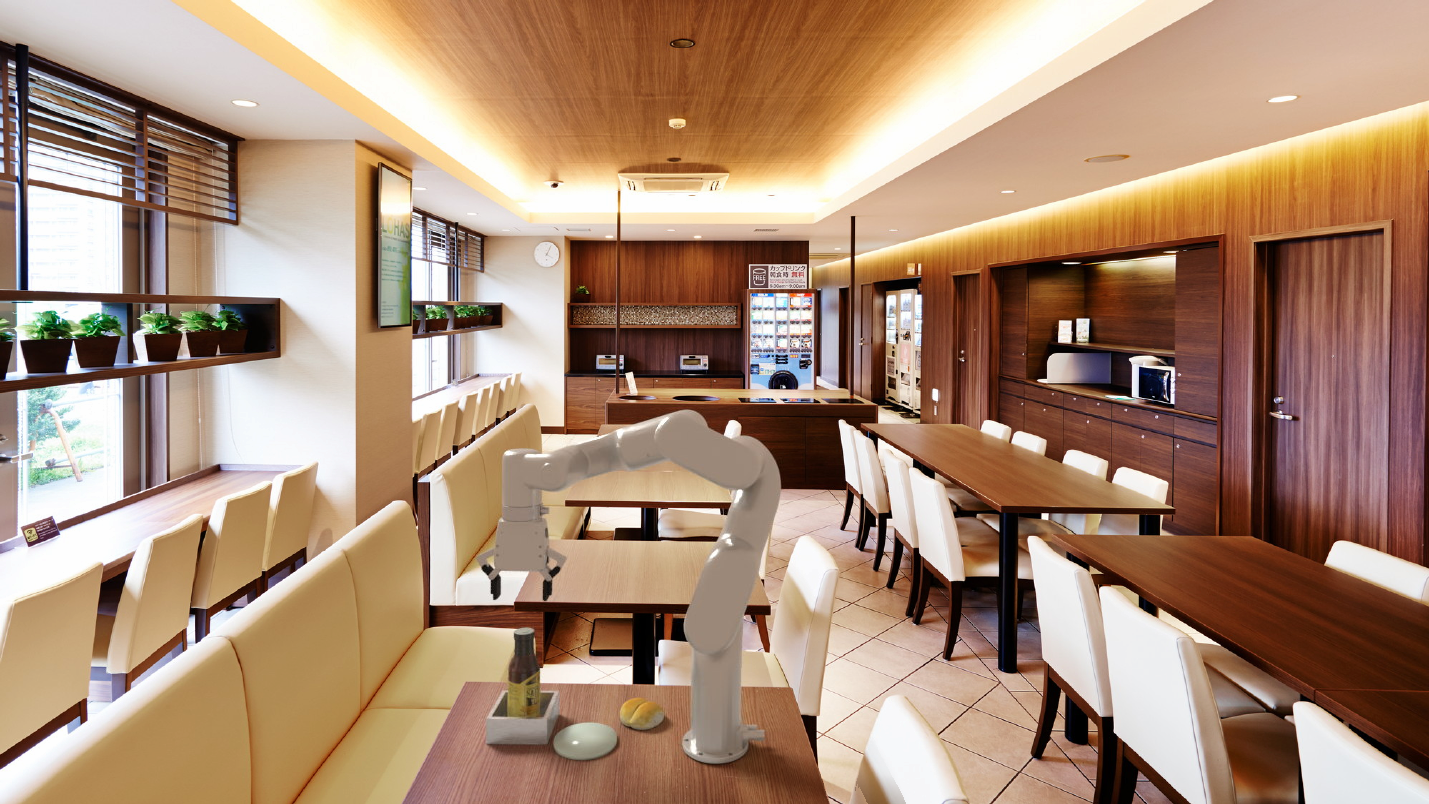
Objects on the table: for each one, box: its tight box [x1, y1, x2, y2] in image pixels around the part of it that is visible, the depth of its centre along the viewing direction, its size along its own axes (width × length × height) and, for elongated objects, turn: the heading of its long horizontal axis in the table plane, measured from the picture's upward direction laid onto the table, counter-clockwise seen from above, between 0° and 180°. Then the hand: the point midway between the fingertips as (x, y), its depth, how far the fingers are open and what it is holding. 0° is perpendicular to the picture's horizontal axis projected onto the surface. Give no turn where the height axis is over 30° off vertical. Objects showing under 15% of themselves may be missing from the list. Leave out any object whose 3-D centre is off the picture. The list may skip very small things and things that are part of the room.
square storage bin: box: [485, 689, 560, 745], centre depth 147 cm, size 12×12×5 cm
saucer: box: [553, 722, 618, 761], centre depth 142 cm, size 12×12×1 cm
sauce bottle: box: [507, 627, 541, 717], centre depth 146 cm, size 6×6×20 cm
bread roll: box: [619, 697, 665, 731], centre depth 151 cm, size 8×9×4 cm
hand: (521, 598), depth 145 cm, fingers open, 9 cm apart
